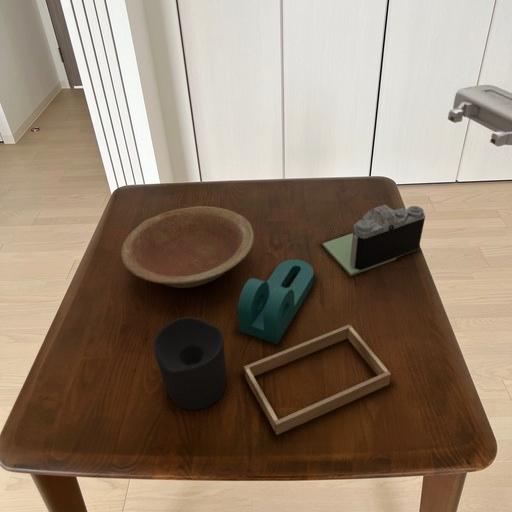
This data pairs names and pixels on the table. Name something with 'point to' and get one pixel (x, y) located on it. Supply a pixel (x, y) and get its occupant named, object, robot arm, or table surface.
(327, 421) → the table surface
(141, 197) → the table surface
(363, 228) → the camera
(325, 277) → the table surface
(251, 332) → the bracket
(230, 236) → the bowl
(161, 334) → the pen holder
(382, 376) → the rectangular wooden frame
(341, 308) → the table surface
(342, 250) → the mat
